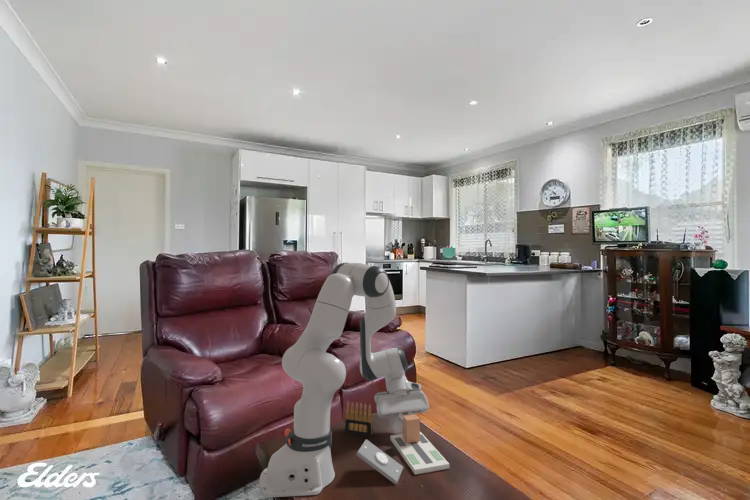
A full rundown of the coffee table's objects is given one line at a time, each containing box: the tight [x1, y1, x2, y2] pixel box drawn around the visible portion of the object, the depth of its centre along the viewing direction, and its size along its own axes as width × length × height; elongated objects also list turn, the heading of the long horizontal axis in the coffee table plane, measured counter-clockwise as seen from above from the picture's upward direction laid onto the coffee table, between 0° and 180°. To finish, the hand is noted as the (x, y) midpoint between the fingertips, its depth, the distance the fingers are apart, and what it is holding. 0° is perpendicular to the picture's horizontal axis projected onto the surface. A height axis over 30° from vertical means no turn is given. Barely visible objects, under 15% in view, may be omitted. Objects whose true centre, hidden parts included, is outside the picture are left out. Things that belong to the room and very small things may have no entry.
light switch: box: [356, 439, 404, 485], centre depth 119 cm, size 8×6×14 cm
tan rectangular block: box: [402, 414, 421, 443], centre depth 136 cm, size 5×4×8 cm
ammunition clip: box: [344, 400, 373, 437], centre depth 145 cm, size 11×2×12 cm, turn 73°
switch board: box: [389, 431, 450, 475], centre depth 131 cm, size 12×23×2 cm, turn 17°
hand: (407, 426), depth 139 cm, fingers closed
